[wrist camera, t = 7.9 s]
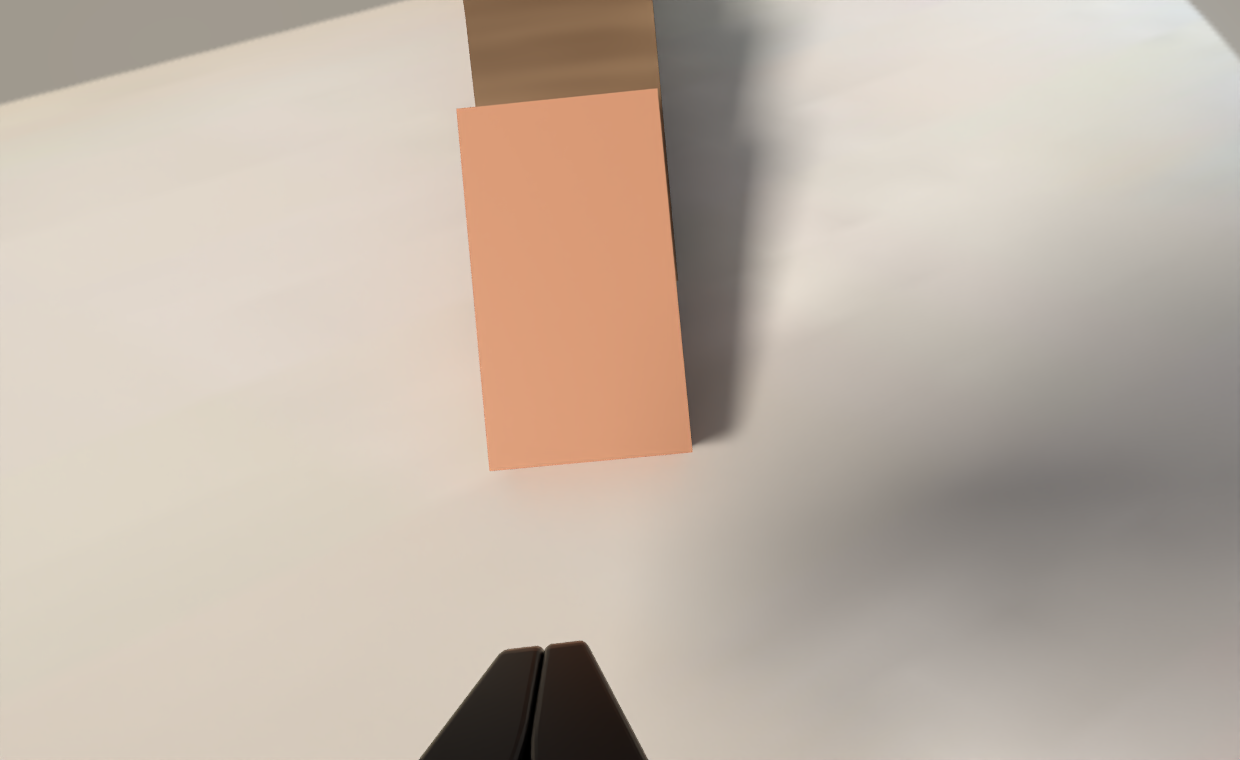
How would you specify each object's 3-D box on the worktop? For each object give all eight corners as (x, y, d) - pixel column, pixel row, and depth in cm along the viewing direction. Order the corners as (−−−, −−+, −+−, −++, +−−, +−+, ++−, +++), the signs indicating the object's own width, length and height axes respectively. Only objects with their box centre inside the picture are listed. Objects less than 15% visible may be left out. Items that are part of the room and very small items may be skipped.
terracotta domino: (692, 452, 17) (657, 88, 17) (489, 470, 17) (456, 108, 18) (687, 447, 19) (655, 113, 19) (501, 464, 19) (471, 132, 19)
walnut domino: (677, 280, 19) (646, -62, 19) (497, 298, 20) (458, -42, 19) (673, 283, 21) (645, -33, 20) (506, 299, 21) (472, -14, 20)
